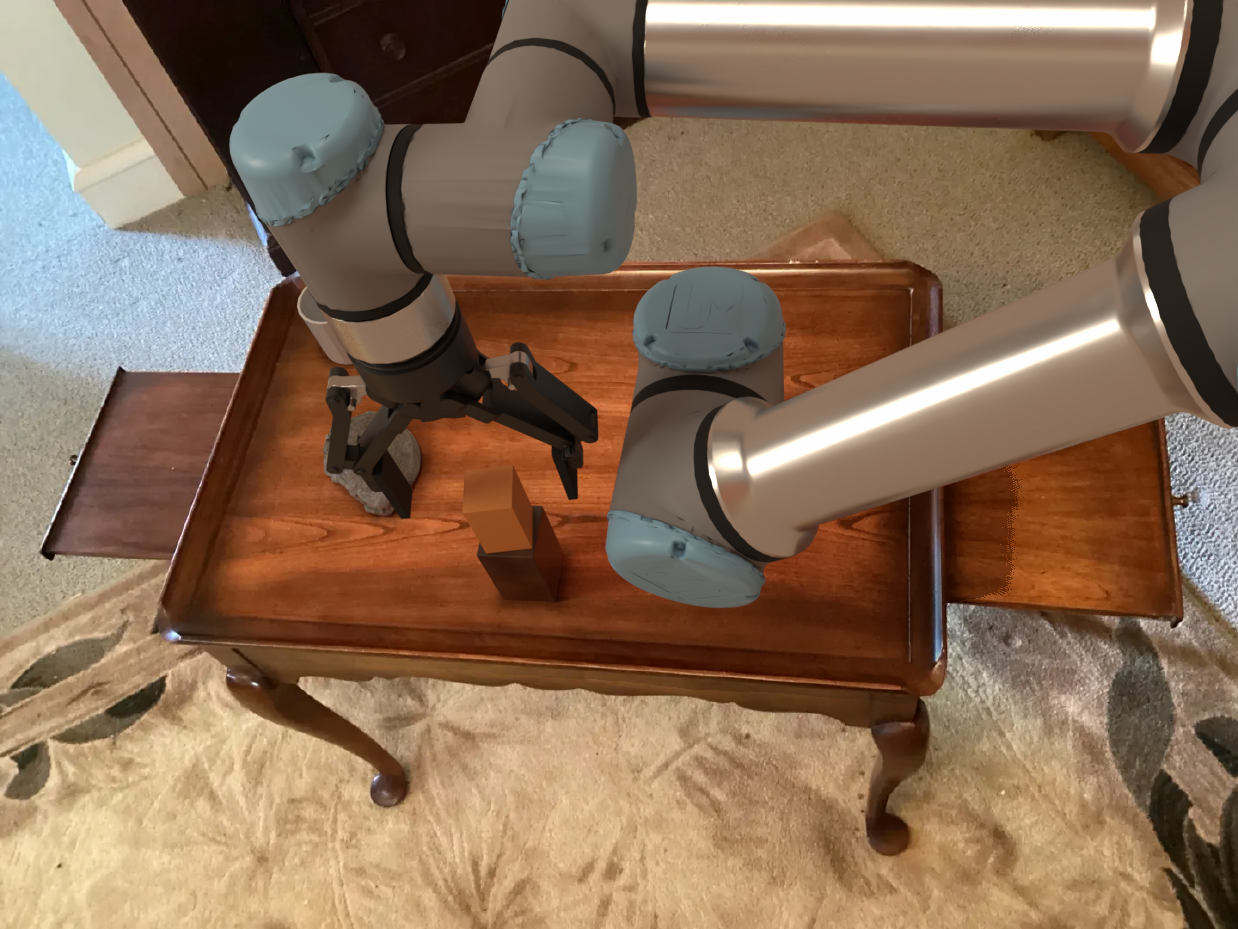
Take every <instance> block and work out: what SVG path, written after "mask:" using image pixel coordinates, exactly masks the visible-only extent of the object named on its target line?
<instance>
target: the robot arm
mask: <svg viewBox="0 0 1238 929" xmlns="http://www.w3.org/2000/svg"><path fill="white" fill-rule="evenodd" d="M492 47H493V48H492V50H491V52H490V55H489V59H488V61H487V64H486V65H485V67H484V69H483V72H482V75H481V78H480V79H479V83H478V85H477V88H476V91H475V94H474V95H473V96H474V97H473V100H472V102H471V104H470V106H469V110H468V112H467V115H466V117H465V120H464V121H463V122H461V123H426V124H424V123H423V124H412V123H400V124H398V123H397V124H396V123H395V124H387V123H385V121H384V120H383V119H382V114H381V113H380V111H379V108H378V107H377V106H375V105H374V103H373V102H372V99H371V98H370V96H369V95H368V93H367V92H366V91H365V88H363V87H362V86H361V85H360V84H358V83H357V82H356V81H353V80H349V79H344V78H343V77H341V76H340V75H339V74H335V73H329V72H315V73H314V72H313V73H306V74H301V75H297V76H294V77H291V78H287V79H284V80H282V81H279V82H278V83H276V84H273V85H271V86H270V87H268V88H266V89H265V90H264V91H262V92H260V93H259V94H258V95H256V96H255V97H254V98H253V99H252V100H251V101H250V102H248V104H247V105H246V106H245V107H244V108H243V109H242V110H241V112H240V116H239V117H238V120H237V122H236V123H235V124H234V125H233V126H232V130H231V133H230V136H229V154H230V157H231V160H232V163H233V166H234V168H235V169H236V171H237V173H238V176H239V177H240V179H241V181H242V183H243V185H244V187H245V189H246V191H247V193H248V194H249V197H250V198H251V201H252V203H253V204H254V208H255V212H256V215H257V217H258V218H259V219H260V221H261V222H262V223H263V224H265V226H266V228H268V230H269V231H270V233H271V235H272V236H273V237H274V239H275V241H276V242H277V243H278V245H279V246H280V248H281V249H282V251H283V252H284V253H285V255H286V257H287V258H288V260H289V261H290V263H291V264H292V266H293V268H294V269H295V271H296V272H297V274H298V275H299V277H300V278H301V280H302V282H303V283H304V285H305V287H306V286H307V288H308V290H309V292H310V294H311V295H312V297H313V299H314V300H315V302H316V304H317V305H318V307H319V309H320V311H321V312H322V314H323V316H324V318H325V319H326V321H327V323H328V324H329V326H330V328H331V329H332V331H333V333H334V335H335V336H336V338H337V340H338V341H339V343H340V344H341V346H342V347H343V349H344V350H345V351H346V353H347V355H348V357H349V359H350V360H351V362H352V363H353V364H352V365H353V367H354V368H355V371H357V373H358V375H350V373H349V371H348V370H347V369H346V368H344V367H342V366H332V367H331V368H330V369H329V373H328V380H327V386H326V391H325V392H326V393H325V398H324V399H325V403H326V405H327V407H328V409H329V412H330V414H331V415H332V420H331V427H330V428H331V435H330V443H329V450H328V458H327V466H326V470H327V472H329V473H331V474H340V473H342V472H343V469H349V470H353V472H354V473H355V474H356V475H359V476H361V477H362V479H363V480H364V481H365V483H366V484H367V485H368V487H369V488H370V490H372V491H374V492H375V493H376V492H383V494H384V495H385V497H386V498H387V500H388V501H389V502H390V504H391V505H392V507H393V508H394V511H395V513H396V515H397V516H398V517H399V518H400V520H407V519H411V515H412V504H413V493H414V492H413V491H414V489H413V487H412V485H411V486H410V484H409V483H408V481H407V480H406V478H405V476H404V475H403V473H402V472H401V470H400V469H399V467H398V466H397V464H396V463H395V461H394V459H393V458H392V456H391V455H390V453H389V452H388V450H387V448H388V447H389V446H390V444H391V443H392V442H393V440H394V439H395V437H396V436H397V435H398V434H402V433H403V432H404V430H405V429H406V428H407V427H408V426H409V425H410V424H411V423H412V421H413V420H417V421H420V422H421V423H431V422H436V421H438V420H442V419H451V420H452V419H463V418H466V416H467V417H469V418H472V419H474V420H476V421H478V422H481V423H482V424H485V425H488V424H490V423H492V422H495V423H498V424H499V425H502V426H504V427H507V428H509V429H511V430H514V431H515V432H518V433H521V434H523V435H525V436H528V437H529V438H532V439H534V440H537V441H539V442H541V443H544V444H546V445H548V446H550V447H551V448H550V450H551V451H550V452H551V458H552V461H553V463H554V466H555V469H556V471H557V473H558V476H559V479H560V481H561V484H562V486H563V490H564V492H565V495H566V497H567V500H568V501H574V500H579V481H578V469H582V468H583V467H584V447H583V444H582V442H583V443H585V444H595V443H597V442H598V440H599V416H598V409H597V408H596V407H595V406H594V405H592V404H591V403H590V402H589V401H587V399H585V398H583V397H582V396H581V395H580V394H578V393H577V392H576V391H574V390H573V389H572V388H571V387H569V386H568V385H567V384H566V383H564V382H563V381H562V380H561V379H559V378H558V377H557V376H556V375H554V374H553V373H551V372H550V371H549V370H547V369H546V368H545V367H544V366H542V365H541V363H539V362H538V361H537V360H536V359H535V357H534V355H533V354H532V351H531V349H530V348H529V346H528V345H527V344H526V343H524V342H521V341H516V342H513V343H512V344H511V345H510V346H509V353H508V354H503V355H499V356H495V357H488V356H487V355H486V354H484V353H483V352H481V351H480V350H479V349H478V346H477V344H476V342H475V340H474V337H473V334H472V332H471V330H470V327H469V325H468V322H467V320H466V318H465V316H464V313H463V311H462V308H461V306H460V304H459V302H458V300H457V298H456V297H455V294H454V292H453V288H452V286H451V283H450V282H449V279H448V277H447V276H477V277H478V276H479V277H480V276H481V277H508V278H509V277H511V278H531V279H533V280H547V281H549V280H552V279H555V278H556V277H557V278H559V277H560V278H561V277H562V278H563V277H577V276H578V277H579V276H580V277H581V276H583V277H584V276H598V275H599V276H602V275H609V274H612V273H614V272H615V271H616V270H618V269H619V268H620V267H621V266H622V265H623V264H624V263H625V261H626V259H628V258H627V257H628V256H629V254H630V251H631V248H632V244H633V240H634V236H635V230H636V210H637V203H638V186H637V169H636V163H635V155H634V150H633V147H632V144H631V141H630V138H629V136H628V134H627V133H626V132H625V130H623V128H622V127H621V126H619V125H617V124H615V123H614V120H615V118H639V119H640V118H666V119H667V118H668V119H669V118H670V119H672V118H673V119H694V120H696V119H697V120H698V119H699V120H728V121H729V120H730V121H760V122H761V121H762V122H787V123H789V122H790V123H792V122H793V123H819V124H846V125H847V124H849V125H850V124H851V125H882V126H909V127H910V126H911V127H937V128H938V127H939V128H940V127H941V128H942V127H944V128H969V129H970V128H972V129H1001V130H1002V129H1003V130H1031V131H1032V130H1033V131H1064V132H1065V131H1066V132H1092V133H1093V132H1094V133H1106V134H1108V135H1110V136H1111V138H1112V139H1113V140H1114V141H1115V143H1116V144H1117V145H1118V147H1119V148H1120V149H1121V150H1122V151H1123V152H1124V153H1127V154H1128V153H1129V154H1144V155H1145V154H1147V155H1149V154H1150V155H1164V156H1165V155H1166V156H1170V157H1171V156H1172V157H1174V158H1177V159H1179V160H1181V161H1184V162H1185V163H1188V164H1189V165H1191V167H1193V168H1194V169H1195V170H1196V171H1197V173H1198V179H1199V183H1200V184H1199V185H1196V186H1194V187H1192V188H1190V189H1187V190H1185V191H1184V192H1182V193H1179V194H1177V195H1174V196H1172V197H1169V198H1168V199H1166V200H1163V201H1160V202H1159V203H1157V204H1155V205H1152V206H1150V207H1149V208H1147V209H1145V210H1142V211H1141V212H1138V214H1137V215H1136V216H1135V219H1134V221H1133V222H1132V225H1131V227H1130V230H1129V231H1128V234H1127V235H1126V238H1125V240H1124V242H1123V245H1122V246H1121V249H1120V251H1119V253H1117V255H1115V256H1114V257H1111V258H1109V259H1107V260H1105V261H1102V262H1100V263H1098V264H1095V265H1093V266H1090V267H1088V268H1086V269H1084V270H1081V271H1080V272H1079V271H1078V272H1076V273H1075V274H1072V275H1070V276H1068V277H1065V278H1063V279H1061V280H1059V281H1057V282H1054V283H1051V284H1049V285H1047V286H1045V287H1042V288H1041V289H1038V290H1036V291H1033V292H1031V293H1029V294H1027V295H1024V296H1022V297H1020V298H1017V299H1015V300H1013V301H1010V302H1009V303H1006V304H1004V305H1002V306H999V307H997V308H994V309H992V310H990V311H987V312H986V313H983V314H980V315H978V316H977V317H976V316H975V317H974V318H972V319H969V320H967V321H964V322H962V323H960V324H958V325H956V326H953V327H951V328H948V329H947V330H944V331H942V332H939V333H937V334H935V335H932V336H930V337H928V338H925V339H924V340H921V341H919V342H917V343H914V344H912V345H910V346H907V347H905V348H903V349H901V350H898V351H896V352H894V353H891V354H889V355H887V356H884V357H882V358H880V359H878V360H876V361H873V362H870V363H868V364H866V365H864V366H862V367H859V368H857V369H855V370H853V371H850V372H848V373H846V374H844V375H841V376H839V377H836V378H835V379H832V380H830V381H827V382H825V383H822V384H820V385H819V386H816V387H814V388H812V389H809V390H806V391H804V392H802V393H799V394H798V395H795V396H793V397H790V398H789V399H786V400H785V371H784V370H785V368H784V367H785V366H784V364H785V363H784V362H785V360H784V340H785V337H786V332H787V324H786V321H785V320H784V316H783V309H782V305H781V302H780V299H779V298H778V296H777V295H776V293H775V291H774V290H773V289H772V288H771V287H770V285H768V284H767V283H766V282H762V281H761V280H759V278H758V277H756V276H755V275H753V274H751V273H749V272H747V271H745V270H742V269H739V268H733V267H728V266H716V265H715V266H714V265H713V266H699V267H693V268H687V269H685V270H681V271H677V272H675V273H673V274H672V275H671V276H670V277H669V278H667V279H662V280H660V281H658V282H657V283H656V284H654V285H652V287H651V288H649V289H648V290H647V291H646V292H645V293H644V295H643V296H642V297H641V299H640V300H639V301H638V303H637V306H636V307H635V311H634V313H633V320H632V322H633V323H632V326H633V328H632V332H631V333H632V334H631V335H632V341H633V343H634V346H635V348H636V350H637V355H638V357H637V358H638V359H637V373H636V379H635V382H634V389H633V394H632V400H631V405H630V411H629V415H628V418H627V419H628V420H627V424H626V428H625V434H624V438H623V443H622V447H621V452H620V458H619V461H618V467H617V473H616V477H615V481H614V486H613V490H612V496H611V501H610V504H609V509H608V512H607V514H606V520H607V521H608V522H607V523H608V525H607V531H606V532H607V533H606V540H605V554H606V555H607V561H608V563H609V564H610V566H611V567H612V569H613V570H614V571H615V572H616V574H617V575H618V576H620V577H621V578H622V579H623V580H625V581H626V582H628V583H629V584H631V585H632V586H634V587H637V588H638V589H640V590H642V591H645V592H647V593H649V594H652V595H653V596H657V597H660V598H662V599H665V600H669V601H673V602H676V603H680V604H685V605H689V606H695V607H703V608H711V609H729V608H739V607H744V606H747V605H750V604H752V603H753V602H755V601H756V600H758V599H759V596H760V595H761V591H762V587H763V586H765V584H766V579H767V578H766V576H765V574H764V573H765V572H764V570H765V567H766V566H768V564H772V563H775V562H779V561H781V560H784V559H788V558H792V557H795V556H796V555H799V554H800V553H803V552H804V551H805V550H806V549H808V548H809V547H810V545H811V544H812V543H813V542H814V540H815V538H816V536H817V534H818V532H819V528H820V525H823V524H826V523H829V522H833V521H836V520H839V519H842V518H846V517H849V516H852V515H856V514H858V513H861V512H864V511H868V510H871V509H874V508H877V507H878V508H879V507H880V506H885V505H888V504H891V503H894V502H897V501H900V500H903V499H906V498H910V497H913V496H916V495H919V494H922V493H926V492H929V491H932V490H936V489H939V488H941V487H944V486H945V487H946V486H947V485H951V484H954V483H958V482H961V481H964V480H967V479H970V478H973V477H977V476H980V475H983V474H986V473H990V472H993V471H996V470H1000V469H1003V468H1005V467H1010V466H1012V465H1016V464H1018V463H1022V462H1025V461H1029V460H1032V459H1034V458H1038V457H1041V456H1044V455H1048V454H1051V453H1053V452H1057V451H1060V450H1065V449H1067V448H1070V447H1073V446H1076V445H1080V444H1082V443H1086V442H1089V441H1092V440H1096V439H1098V438H1102V437H1106V436H1109V435H1112V434H1115V433H1118V432H1121V431H1124V430H1128V429H1131V428H1135V427H1137V426H1141V425H1144V424H1148V423H1151V422H1154V421H1156V420H1160V419H1163V418H1167V417H1170V416H1174V415H1176V414H1180V413H1183V414H1184V413H1185V414H1189V415H1191V416H1194V417H1196V418H1198V419H1201V420H1203V421H1206V422H1208V423H1210V424H1213V425H1215V426H1217V427H1220V428H1222V429H1225V430H1232V429H1236V428H1238V0H505V5H504V7H503V8H502V12H501V23H500V26H499V28H498V32H497V35H496V38H495V41H494V44H493V46H492ZM503 382H505V383H506V384H507V385H505V384H504V383H503ZM365 396H368V398H369V399H370V400H371V401H373V402H375V403H377V404H380V405H381V406H380V408H378V411H376V412H377V413H376V415H375V416H374V418H373V419H372V421H371V422H370V424H369V425H368V427H367V428H366V430H365V431H364V433H363V434H362V436H359V434H358V436H357V443H356V445H347V442H348V436H349V429H350V423H351V417H352V416H353V415H352V414H353V412H354V411H356V409H357V406H358V405H360V404H361V403H362V398H363V397H365ZM481 399H482V401H481V402H480V400H481ZM407 429H408V428H407Z"/></svg>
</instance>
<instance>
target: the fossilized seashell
mask: <svg viewBox="0 0 1238 929" xmlns="http://www.w3.org/2000/svg"><path fill="white" fill-rule="evenodd" d="M377 412H378V411H373V410H368V411H365V412H364V413H360V414H357V415H355V416H351V423H350V429H349V436H348V442H347V445H356V443H357V436H358V434H359V436H362V434H363V433H364V431H365V430H366V428H367V427H368V425H369V424H370V422H371V421H372V419H373V418H374V416H375V415H376V413H377ZM330 435H331V427H330V428H329V433H327V434H325V438H324V440H325V441H324V444H323V448H322V454H323V472H324V475H325V476H326V477H330V479H331V482H332V483H334V484H338V485H341V486H343V487H344V488H345V489H346V490H347V491H348V493H349V495H350V496H351V497H353V499H354V500H356V501H357V502H359V503H361V504H362V505H363V508H364V510H365V512H366V513H370V514H373V515H376V516H383V517H387V516H390V515H391V514H392V513H393V512H394V511H395V510H394V508H393V507H392V505H391V504H390V502H389V501H388V500H387V498H386V497H385V495H384V494H383V492H376V493H375V492H374V491H372V490H370V488H369V487H368V485H367V484H366V483H365V481H364V480H363V479H362V477H361V476H359V475H356V474H355V473H354V472H353V470H349V469H343V472H342V473H340V474H331V473H329V472H327V470H326V466H327V458H328V450H329V443H330ZM387 450H388V452H389V453H390V455H391V456H392V458H393V459H394V461H395V463H396V464H397V466H398V467H399V469H400V470H401V472H402V473H403V475H404V476H405V478H406V480H407V481H408V483H409V484H410V486H411V487H412V485H413V484H414V482H415V481H416V479H417V477H418V476H419V473H420V469H421V464H422V452H421V449H420V445H419V442H418V440H417V438H416V436H414V435H413V433H412V432H411V431H410V430H409V429H408V428H406V429H405V430H404V432H403V433H402V434H398V435H397V436H396V437H395V439H394V440H393V442H392V443H391V444H390V446H389V447H388V448H387Z"/></svg>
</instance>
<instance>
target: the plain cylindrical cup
mask: <svg viewBox="0 0 1238 929" xmlns="http://www.w3.org/2000/svg"><path fill="white" fill-rule="evenodd" d="M296 304H297V305H296V307H297V312H298V315H299V316H300V318H301V319H302V321H303V322H304V324H305V325H306V327H307V328H308V330H309V331H310V333H311V334H312V336H313V337H314V339H315V341H316V342H317V343H318V345H319V347H320V348H321V350H322V351H323V353H324V354H325V355H326V357H327V358H328V359H329V360H331V361H332V362H334V363H336V364H339V365H353V363H352V362H351V360H350V359H349V357H348V355H347V353H346V351H345V350H344V349H343V347H342V346H341V344H340V343H339V341H338V340H337V338H336V336H335V335H334V333H333V331H332V329H331V328H330V326H329V324H328V323H327V321H326V319H325V318H324V316H323V314H322V312H321V311H320V309H319V307H318V305H317V304H316V302H315V300H314V299H313V297H312V295H311V294H310V292H309V290H308V288H307V286H306V285H305V287H304V288H303V289H302V291H301V293H300V295H299V296H298V298H297V303H296Z"/></svg>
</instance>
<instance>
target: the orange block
mask: <svg viewBox="0 0 1238 929" xmlns="http://www.w3.org/2000/svg"><path fill="white" fill-rule="evenodd" d="M516 470H517V469H516V468H515V466H514V464H507V465H498V466H492V467H491V466H490V467H482V468H474V469H473V468H472V469H465V470H464V474H463V475H464V476H463V496H462V515H463V516H464V519H465V521H467V524H468V525H469V528H471V530H472V532H473V533H474V536H475V537H476V539H477V541H478V543H479V542H480V544H481V545H482V547H483V549H484V550H485V552H486V553H496V552H505V551H514V550H523V549H532V546H533V507H532V506H533V505H532V503H531V501H530V498H529V497H528V494H527V491H526V489H525V488H524V485H523V484H522V481H521V479H520V477H519V475H518V473H517V471H516Z"/></svg>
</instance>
